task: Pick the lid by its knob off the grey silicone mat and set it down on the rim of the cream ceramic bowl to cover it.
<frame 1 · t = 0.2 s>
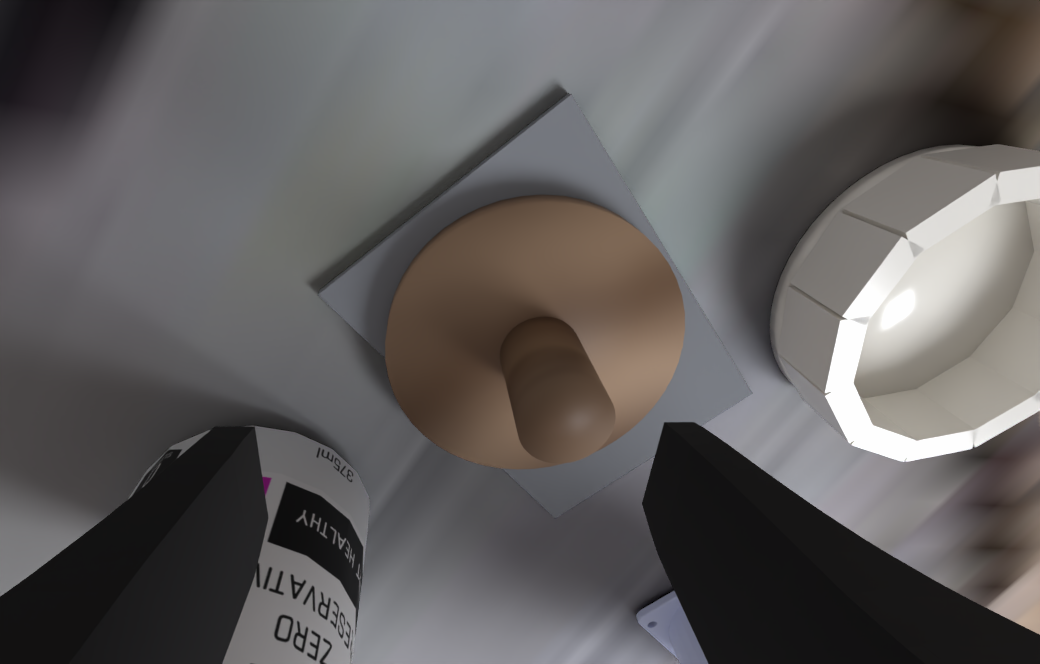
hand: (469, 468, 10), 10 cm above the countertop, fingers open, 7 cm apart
bowl: (901, 289, 21), on the countertop
lid: (535, 339, 19), resting on mat
supplement can: (266, 494, 21), on the countertop
mat: (559, 344, 20), on the countertop
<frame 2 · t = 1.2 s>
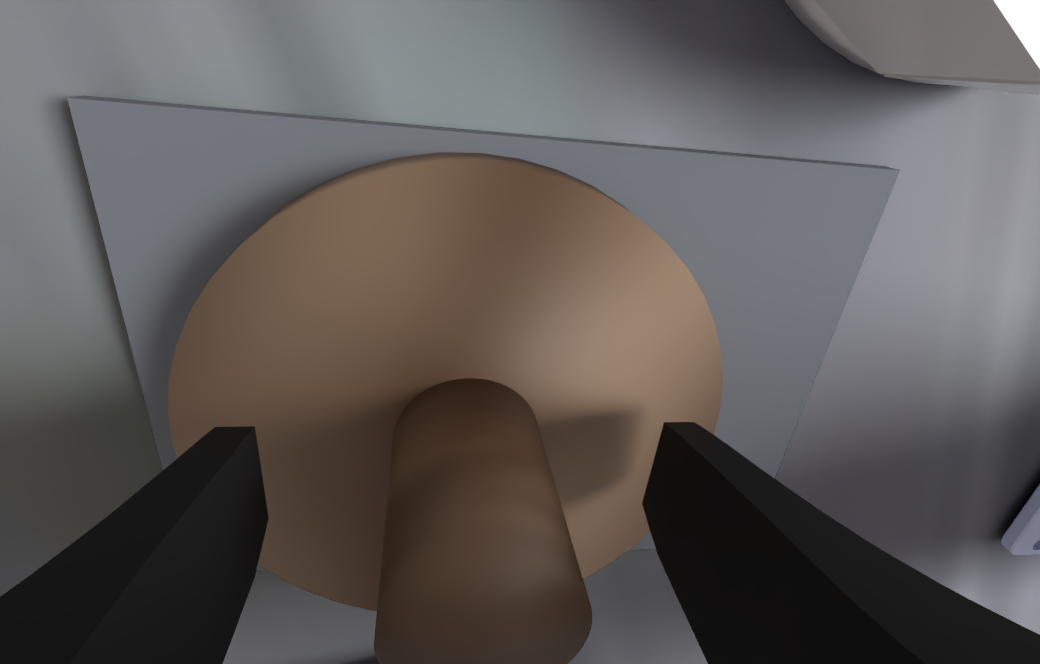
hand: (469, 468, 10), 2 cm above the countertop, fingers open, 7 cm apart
lid: (464, 409, 11), resting on mat
mat: (510, 379, 12), on the countertop
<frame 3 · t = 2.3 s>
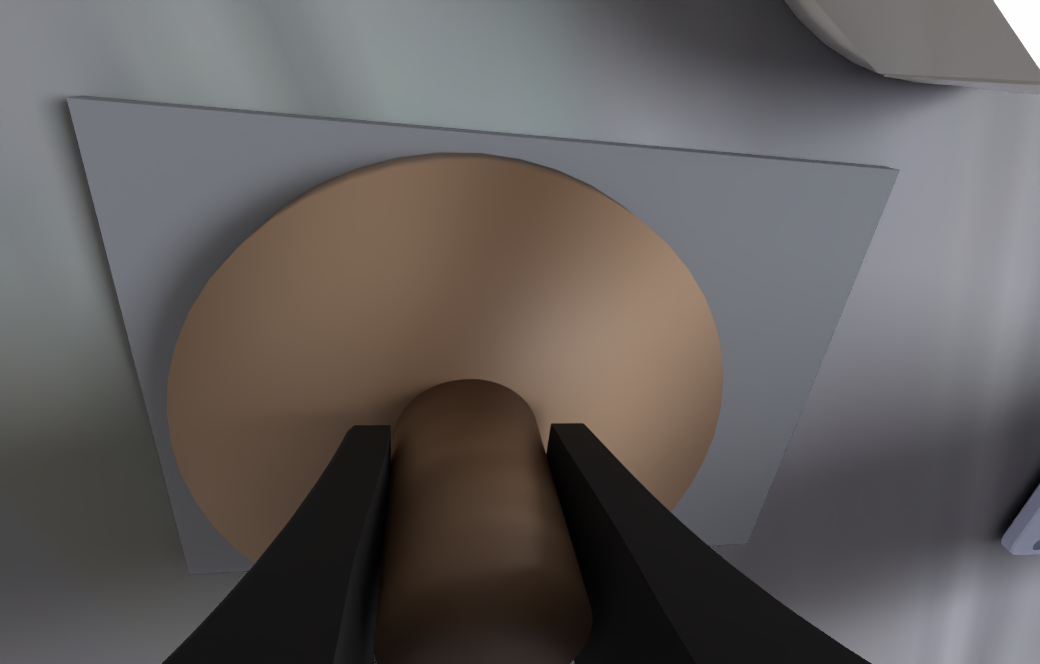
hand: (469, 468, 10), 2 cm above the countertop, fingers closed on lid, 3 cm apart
lid: (463, 410, 11), resting on mat, touching gripper
mat: (510, 379, 12), on the countertop
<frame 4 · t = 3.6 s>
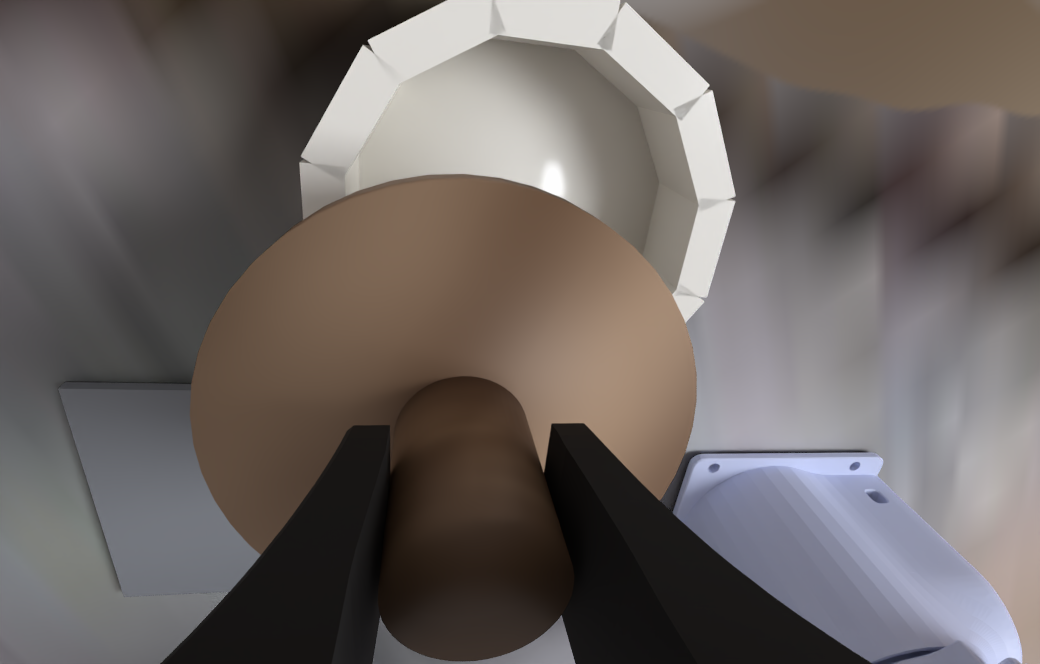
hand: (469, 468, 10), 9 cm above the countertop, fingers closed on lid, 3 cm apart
bowl: (508, 203, 17), on the countertop
lid: (459, 410, 12), point 7 cm above the countertop, touching gripper
mat: (301, 492, 21), on the countertop
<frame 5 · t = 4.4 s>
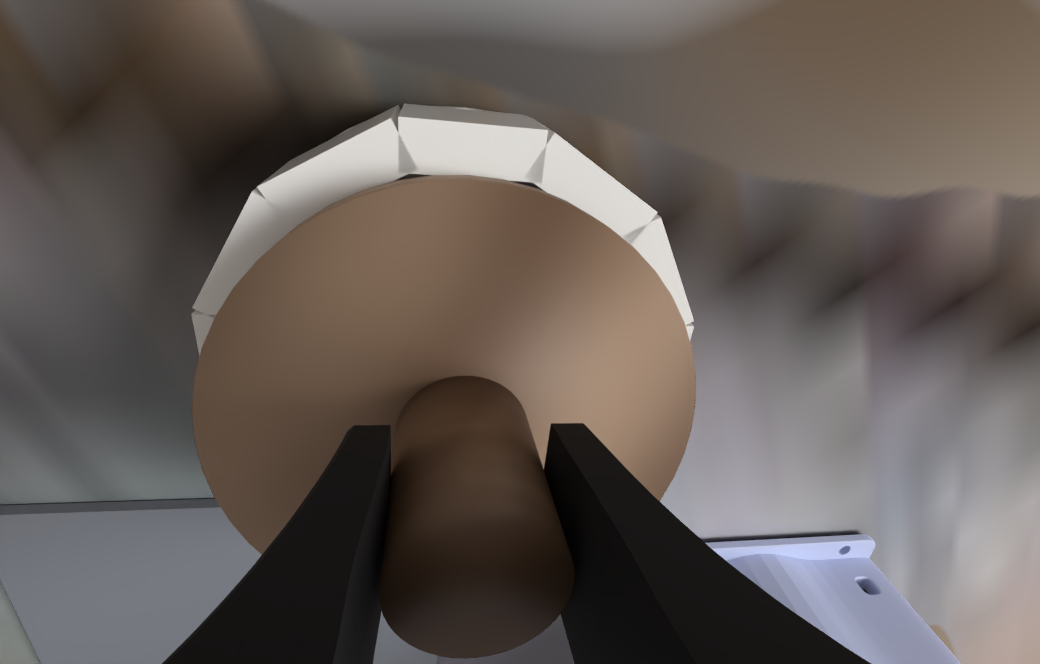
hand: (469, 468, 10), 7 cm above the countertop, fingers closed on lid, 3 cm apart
bowl: (453, 309, 16), on the countertop
lid: (460, 410, 12), point 4 cm above the countertop, touching gripper
mat: (248, 599, 20), on the countertop
when the fingers open (7 cm above the countertop, at t = 5.0 s): lid stays where it is, resting on bowl.
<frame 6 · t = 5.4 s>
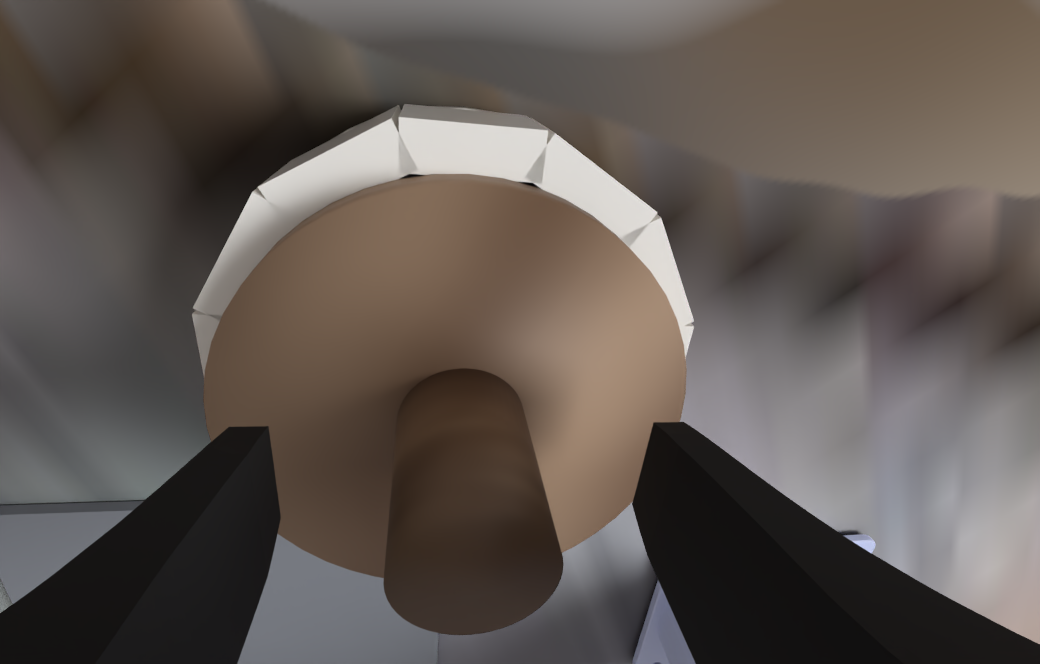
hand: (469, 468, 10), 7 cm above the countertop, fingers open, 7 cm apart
bowl: (454, 309, 16), on the countertop
lid: (459, 397, 13), point 4 cm above the countertop, touching bowl
mat: (248, 599, 20), on the countertop
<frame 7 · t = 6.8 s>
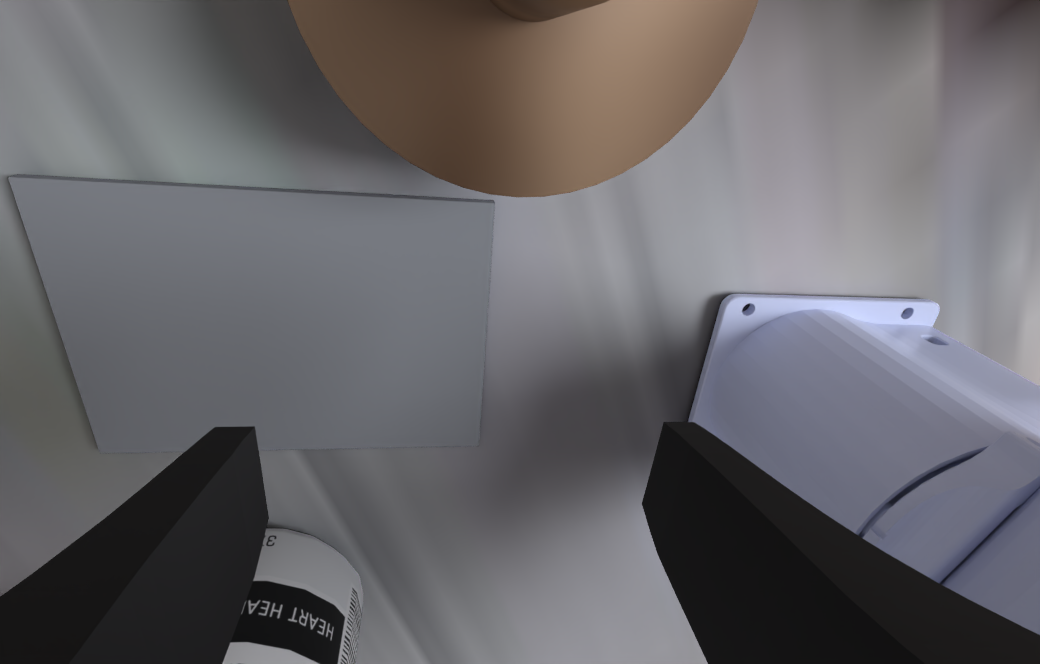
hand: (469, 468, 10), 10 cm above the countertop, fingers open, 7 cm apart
supplement can: (273, 579, 25), on the countertop
mat: (288, 330, 19), on the countertop
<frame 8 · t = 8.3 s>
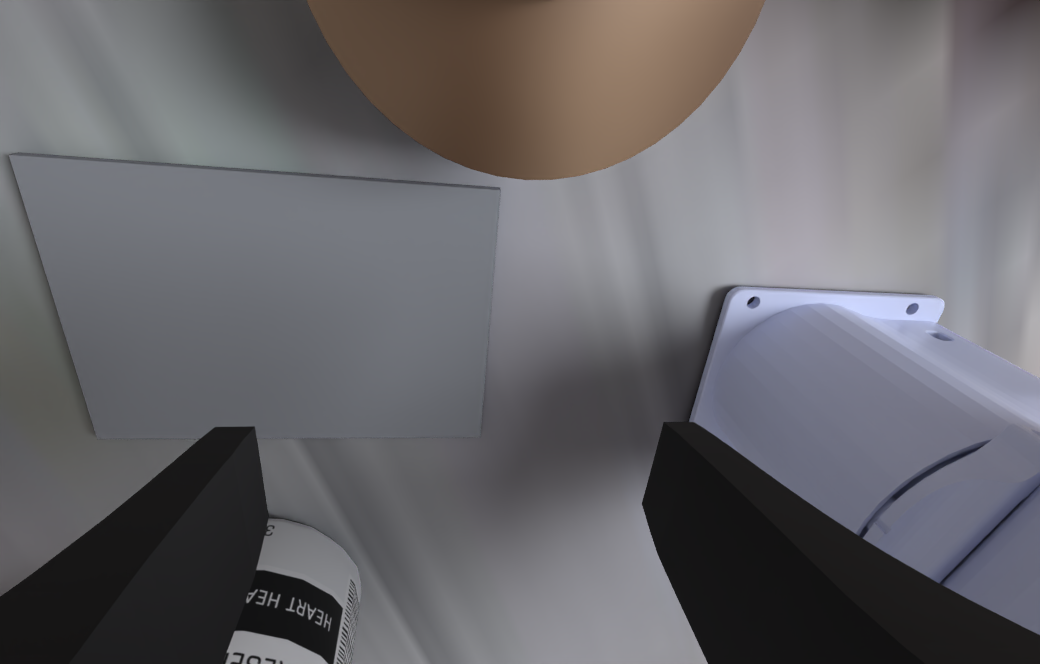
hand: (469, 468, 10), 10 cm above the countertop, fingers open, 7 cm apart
supplement can: (270, 570, 24), on the countertop
mat: (290, 316, 19), on the countertop
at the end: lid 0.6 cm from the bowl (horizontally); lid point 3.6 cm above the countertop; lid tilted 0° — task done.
